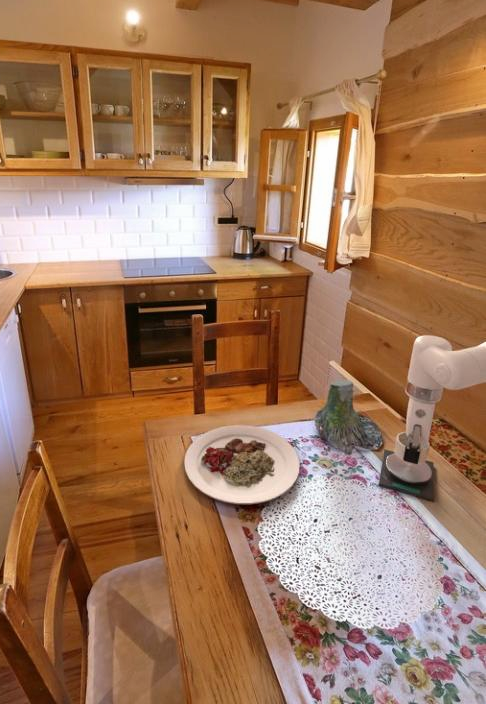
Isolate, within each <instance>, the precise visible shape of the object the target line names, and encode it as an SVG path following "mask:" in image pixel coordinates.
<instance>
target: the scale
mask: <svg viewBox="0 0 486 704" xmlns="http://www.w3.org/2000/svg"><path fill="white" fill-rule="evenodd" d="M394 453H395V452H394V450H388V449H385V448H384V449H383V455H382V462H381V468H380V474H379V480H378V487H381V488H384V489H386V490H387V489H388V490H390V491H393V492H397V493H400V494H404V495H407V496H410V497H414V498H416V499H421V500H423V501H427V502H430V503H435V467H434V466H435V463H434V461H430V460H428V459H427V460H426V461H425V463H427V464H428V466H429V467H430V469H431V472H432V474H431V478H430V479H429V480H428V481H427V482H424V483H418V484H416V483H409V482H406V481H403V480H401V479H399V478H397V477H395V476H394V475H393V474H391V473H390V472H389V470H388V469H387V467H386V459H387V457H388V456H389V455H391V454H394Z"/></svg>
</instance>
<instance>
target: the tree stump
mask: <svg viewBox="0 0 486 704" xmlns="http://www.w3.org/2000/svg"><path fill="white" fill-rule="evenodd" d="M353 388H354V384H353V381H352V380H348V379H339V380H334V381H331V382H330V385H329V390H328V393H327V401H326V403H325V405H323V407H322V408H321V409H319V410H318V411H317V414H316V415H314V418H313V422H314V426H315V429H316V431H317V433H318V434H319V435H320V436H321V437H322V439H323V440H324V441H325V442H326V443H327V444H328V445H330V446H331V447H333V448H334V449H336V450H340V451H342V452H343V453H347V454H352V453H353V449H354V447H355V450H357V448H362V449H365V450H369V451H372V452H377V451H378V450H380V448H382V446H383V442H384V441H383V440H384V439H383V434H382V433H381V430H380V428H379V426H378V425H376V423H375V421H373V420H372V419H370V418H368V417H366V416H364V415H363V414H361V413H360V412H357V411H356V409H355V408H354V400H355V397H354V393H355V390H354V389H353ZM356 447H357V448H356Z"/></svg>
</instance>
